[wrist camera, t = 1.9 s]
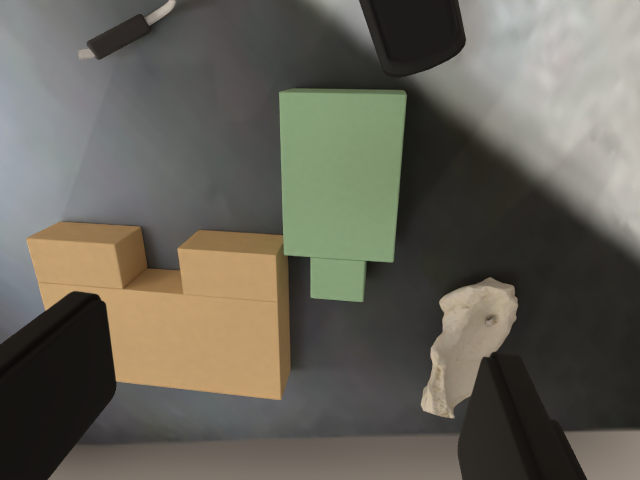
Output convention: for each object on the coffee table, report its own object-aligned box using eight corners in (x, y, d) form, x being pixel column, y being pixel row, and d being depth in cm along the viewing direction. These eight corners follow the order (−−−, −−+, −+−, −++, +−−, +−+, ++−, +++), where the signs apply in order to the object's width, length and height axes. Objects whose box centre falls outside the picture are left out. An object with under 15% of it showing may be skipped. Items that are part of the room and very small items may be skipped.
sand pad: (287, 235, 31) (276, 255, 28) (290, 370, 36) (281, 400, 32) (60, 221, 33) (25, 238, 30) (90, 349, 38) (63, 375, 35)
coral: (522, 273, 30) (544, 307, 26) (485, 392, 34) (498, 437, 30) (439, 261, 30) (447, 292, 26) (412, 379, 34) (415, 422, 30)
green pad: (404, 89, 26) (407, 93, 23) (390, 279, 31) (390, 304, 28) (291, 88, 27) (279, 91, 24) (295, 273, 32) (284, 296, 29)
